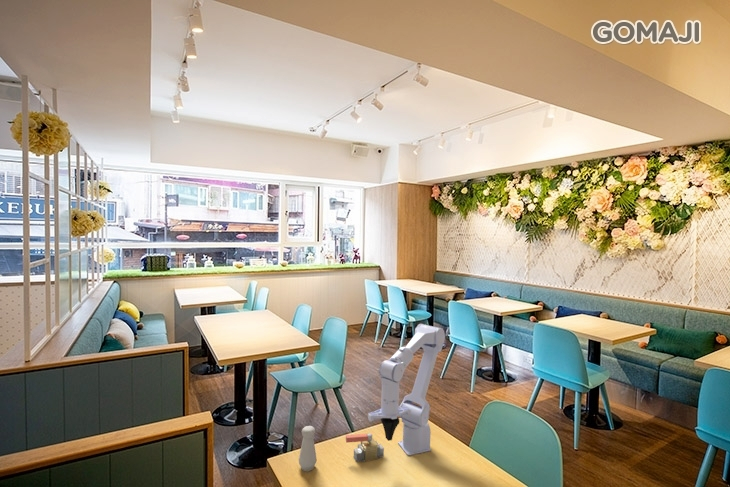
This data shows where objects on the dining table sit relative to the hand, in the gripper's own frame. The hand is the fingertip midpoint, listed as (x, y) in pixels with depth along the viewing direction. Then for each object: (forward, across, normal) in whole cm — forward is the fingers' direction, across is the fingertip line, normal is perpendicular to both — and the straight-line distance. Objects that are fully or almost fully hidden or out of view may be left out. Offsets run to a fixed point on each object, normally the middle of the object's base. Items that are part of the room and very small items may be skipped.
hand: (388, 438), depth 118 cm
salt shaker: (+10, -25, +8) cm, 28 cm away
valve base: (+9, -4, +7) cm, 12 cm away
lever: (+3, -7, +8) cm, 11 cm away
